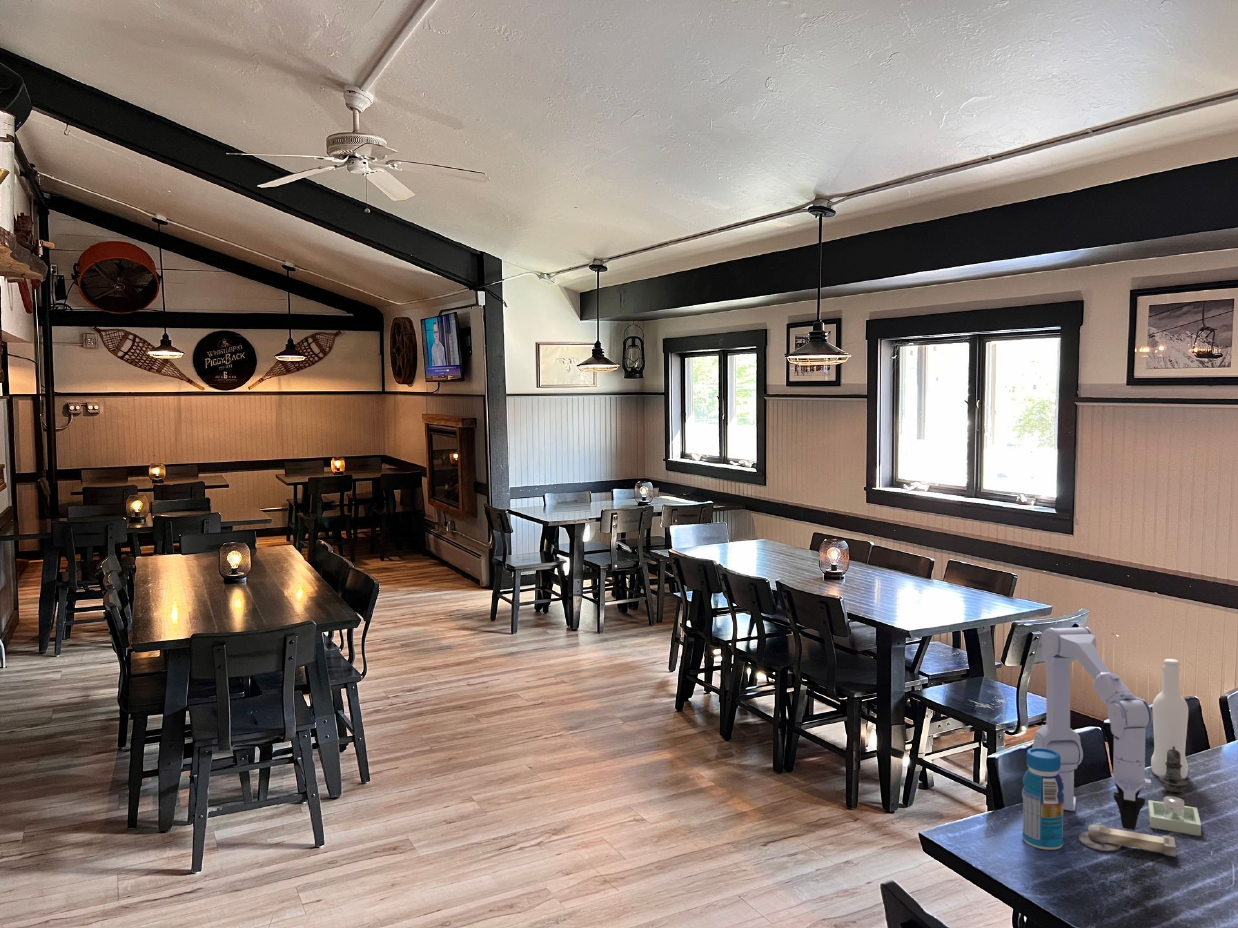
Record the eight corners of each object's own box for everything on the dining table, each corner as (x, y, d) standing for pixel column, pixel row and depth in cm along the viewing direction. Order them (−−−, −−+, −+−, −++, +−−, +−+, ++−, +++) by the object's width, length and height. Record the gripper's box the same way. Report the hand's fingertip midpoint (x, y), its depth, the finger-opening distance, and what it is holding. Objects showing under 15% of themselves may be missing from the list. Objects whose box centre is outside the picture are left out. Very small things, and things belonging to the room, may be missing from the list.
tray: (1150, 827, 203) (1150, 816, 203) (1148, 810, 212) (1148, 799, 212) (1200, 835, 199) (1201, 824, 199) (1196, 818, 207) (1196, 807, 207)
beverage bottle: (1015, 842, 197) (1016, 753, 196) (1029, 829, 204) (1029, 742, 202) (1056, 855, 192) (1057, 763, 190) (1069, 840, 198) (1070, 751, 197)
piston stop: (1163, 822, 204) (1163, 801, 204) (1163, 815, 208) (1163, 794, 208) (1184, 826, 202) (1184, 804, 202) (1184, 819, 206) (1184, 798, 206)
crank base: (1078, 846, 195) (1078, 843, 195) (1079, 830, 202) (1079, 827, 202) (1120, 854, 191) (1120, 851, 191) (1120, 838, 199) (1120, 835, 199)
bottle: (1143, 769, 235) (1145, 656, 234) (1173, 767, 236) (1175, 654, 234) (1165, 781, 227) (1166, 664, 226) (1195, 780, 228) (1197, 663, 226)
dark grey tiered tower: (1179, 789, 223) (1180, 741, 222) (1192, 799, 217) (1193, 750, 216) (1154, 788, 224) (1155, 741, 223) (1166, 798, 218) (1167, 750, 217)
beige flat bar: (1088, 840, 196) (1088, 831, 196) (1088, 830, 200) (1088, 822, 200) (1175, 856, 188) (1175, 847, 188) (1173, 846, 192) (1173, 837, 192)
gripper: (1152, 772, 180) (1152, 839, 180) (1149, 748, 192) (1149, 810, 193) (1112, 766, 183) (1111, 832, 184) (1112, 743, 196) (1111, 804, 196)
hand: (1128, 820), depth 189 cm, fingers open, 7 cm apart
